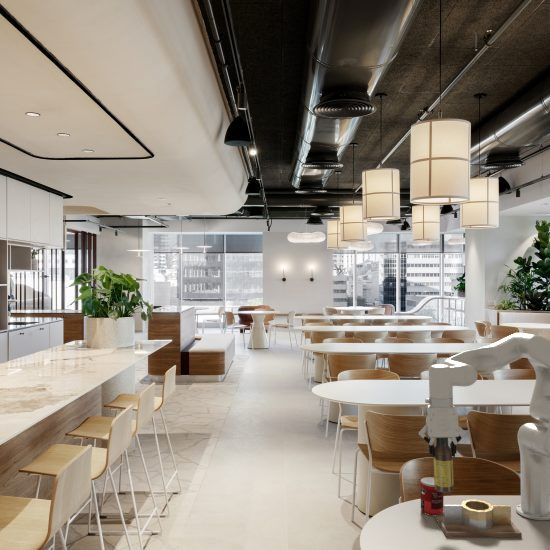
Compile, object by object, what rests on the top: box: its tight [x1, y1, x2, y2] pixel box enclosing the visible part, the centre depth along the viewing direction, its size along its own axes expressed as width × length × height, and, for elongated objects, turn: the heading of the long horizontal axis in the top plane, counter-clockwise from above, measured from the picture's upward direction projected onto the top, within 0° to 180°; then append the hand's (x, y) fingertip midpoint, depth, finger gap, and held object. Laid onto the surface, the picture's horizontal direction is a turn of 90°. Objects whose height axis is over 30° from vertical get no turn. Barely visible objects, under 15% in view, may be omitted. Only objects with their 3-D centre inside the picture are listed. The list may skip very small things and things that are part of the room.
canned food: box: [420, 476, 444, 516], centre depth 208 cm, size 8×8×11 cm
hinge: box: [443, 499, 512, 530], centre depth 194 cm, size 10×22×6 cm, turn 88°
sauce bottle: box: [432, 438, 455, 494], centre depth 194 cm, size 6×6×20 cm
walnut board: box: [435, 513, 523, 539], centre depth 194 cm, size 14×24×2 cm, turn 88°
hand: (442, 455), depth 194 cm, fingers closed on sauce bottle, 6 cm apart
